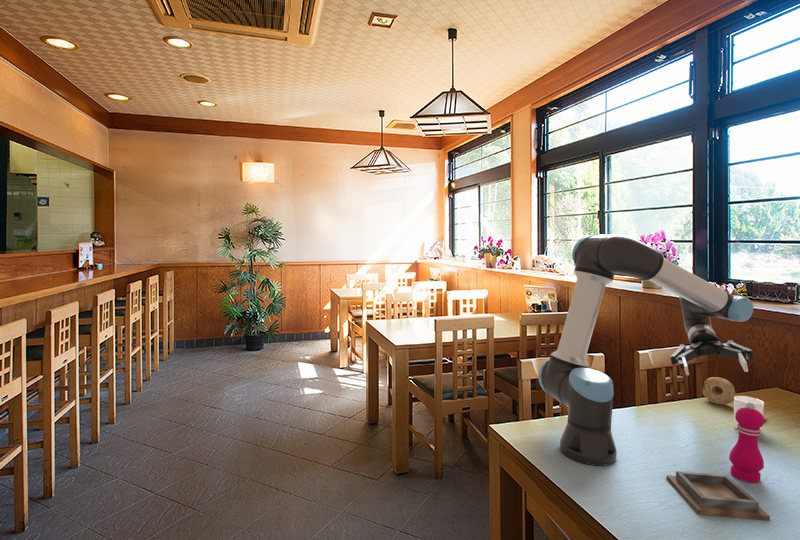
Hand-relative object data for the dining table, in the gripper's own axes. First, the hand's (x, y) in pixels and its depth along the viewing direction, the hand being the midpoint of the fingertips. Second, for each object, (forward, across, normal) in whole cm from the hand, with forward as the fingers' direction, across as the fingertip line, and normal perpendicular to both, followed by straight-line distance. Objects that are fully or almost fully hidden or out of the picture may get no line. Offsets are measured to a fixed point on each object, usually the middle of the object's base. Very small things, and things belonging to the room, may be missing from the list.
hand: (715, 369), depth 123 cm
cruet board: (+25, +7, -21) cm, 34 cm away
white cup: (-27, -8, -35) cm, 45 cm away
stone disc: (-51, -3, -39) cm, 64 cm away
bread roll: (-41, -10, -39) cm, 58 cm away
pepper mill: (+10, -1, -26) cm, 28 cm away
